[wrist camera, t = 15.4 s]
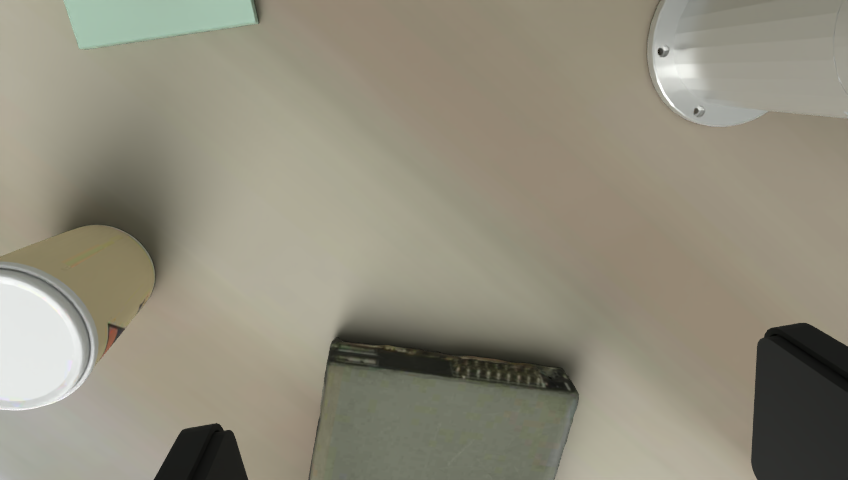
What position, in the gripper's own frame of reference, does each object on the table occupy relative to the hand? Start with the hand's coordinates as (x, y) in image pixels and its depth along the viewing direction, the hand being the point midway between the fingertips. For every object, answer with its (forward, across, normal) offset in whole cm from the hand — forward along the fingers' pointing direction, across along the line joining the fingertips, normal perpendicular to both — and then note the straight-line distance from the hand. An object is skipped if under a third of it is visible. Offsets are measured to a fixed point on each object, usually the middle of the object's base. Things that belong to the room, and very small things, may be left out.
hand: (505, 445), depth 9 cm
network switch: (+34, +2, +27) cm, 43 cm away
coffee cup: (+34, +25, +5) cm, 42 cm away
